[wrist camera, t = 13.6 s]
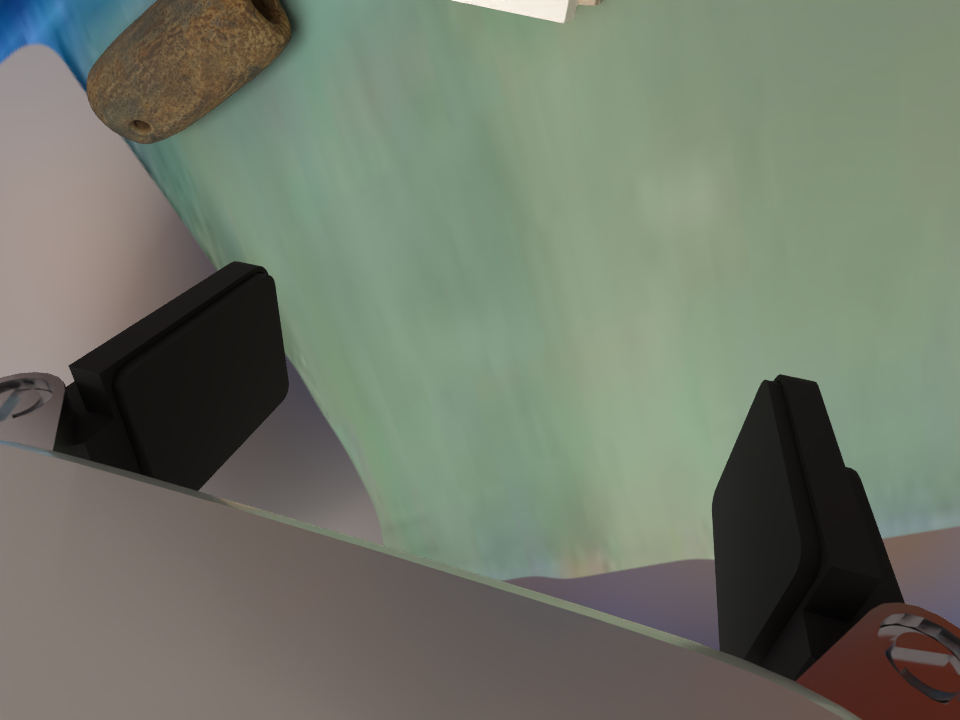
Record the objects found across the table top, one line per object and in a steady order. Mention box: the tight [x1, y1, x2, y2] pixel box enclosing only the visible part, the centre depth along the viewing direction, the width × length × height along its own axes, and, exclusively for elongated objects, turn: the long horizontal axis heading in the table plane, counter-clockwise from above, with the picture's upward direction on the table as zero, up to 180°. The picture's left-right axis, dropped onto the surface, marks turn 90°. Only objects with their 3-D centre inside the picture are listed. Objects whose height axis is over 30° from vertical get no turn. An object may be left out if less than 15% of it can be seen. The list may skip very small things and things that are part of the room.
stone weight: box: [87, 0, 291, 144], centre depth 40 cm, size 15×7×7 cm, turn 124°
